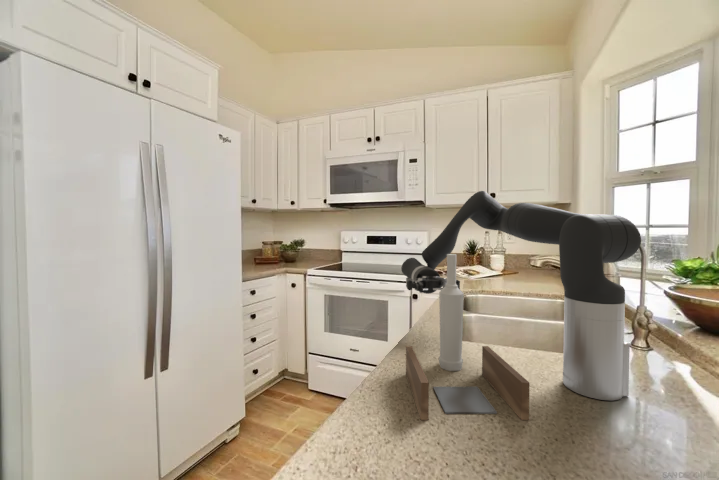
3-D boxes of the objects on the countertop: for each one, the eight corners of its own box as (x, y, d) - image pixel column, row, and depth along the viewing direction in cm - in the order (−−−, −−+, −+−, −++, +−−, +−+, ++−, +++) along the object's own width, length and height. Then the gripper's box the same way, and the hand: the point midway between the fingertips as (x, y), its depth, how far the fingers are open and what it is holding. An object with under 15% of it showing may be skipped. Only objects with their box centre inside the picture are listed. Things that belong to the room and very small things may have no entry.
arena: (487, 374, 66) (488, 346, 66) (528, 419, 50) (529, 382, 50) (405, 374, 66) (406, 346, 66) (421, 420, 50) (421, 382, 50)
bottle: (464, 372, 67) (465, 255, 66) (439, 370, 68) (440, 254, 68) (461, 362, 72) (462, 253, 72) (438, 360, 73) (439, 253, 73)
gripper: (402, 266, 97) (410, 274, 81) (448, 266, 97) (466, 274, 81) (402, 290, 97) (410, 303, 81) (448, 290, 97) (465, 303, 81)
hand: (438, 288), depth 81 cm, fingers open, 8 cm apart
